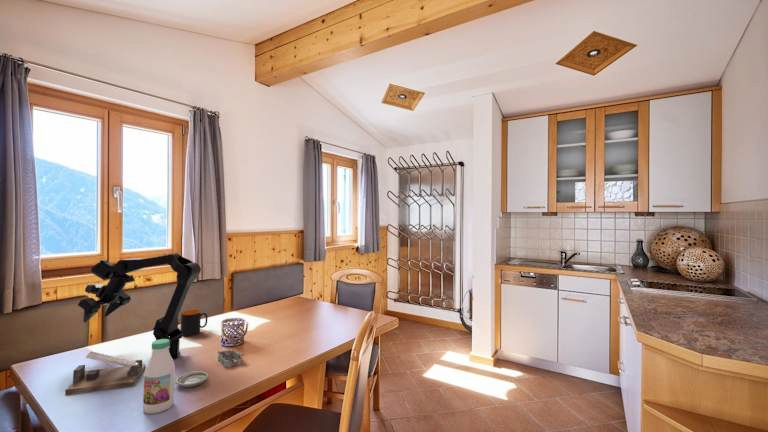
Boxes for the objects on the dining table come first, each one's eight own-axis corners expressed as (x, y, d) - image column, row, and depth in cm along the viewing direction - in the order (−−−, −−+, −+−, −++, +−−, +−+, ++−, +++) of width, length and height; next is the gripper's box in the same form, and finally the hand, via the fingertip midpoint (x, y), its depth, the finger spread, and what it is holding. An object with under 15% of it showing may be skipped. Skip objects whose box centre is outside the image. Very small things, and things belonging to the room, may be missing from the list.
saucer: (173, 393, 109) (173, 386, 110) (178, 379, 118) (178, 373, 118) (206, 388, 113) (206, 381, 113) (208, 375, 122) (209, 369, 122)
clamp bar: (139, 366, 121) (141, 362, 121) (136, 369, 118) (138, 366, 118) (89, 354, 115) (91, 350, 116) (85, 358, 113) (87, 354, 113)
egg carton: (243, 364, 132) (244, 354, 132) (223, 369, 127) (223, 359, 127) (235, 355, 140) (235, 345, 140) (216, 359, 136) (216, 349, 136)
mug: (210, 331, 167) (211, 311, 167) (184, 338, 157) (185, 316, 157) (203, 328, 172) (204, 307, 172) (177, 333, 162) (178, 312, 162)
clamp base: (145, 368, 126) (146, 353, 126) (133, 385, 113) (133, 369, 113) (85, 374, 119) (86, 359, 119) (65, 394, 106) (65, 377, 106)
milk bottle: (152, 400, 105) (155, 336, 105) (178, 400, 105) (181, 336, 105) (136, 414, 97) (139, 345, 97) (164, 414, 98) (167, 346, 98)
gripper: (119, 273, 147) (100, 303, 146) (77, 278, 128) (56, 313, 128) (139, 286, 146) (120, 317, 145) (100, 294, 127) (78, 329, 127)
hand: (95, 319), depth 136 cm, fingers open, 9 cm apart
